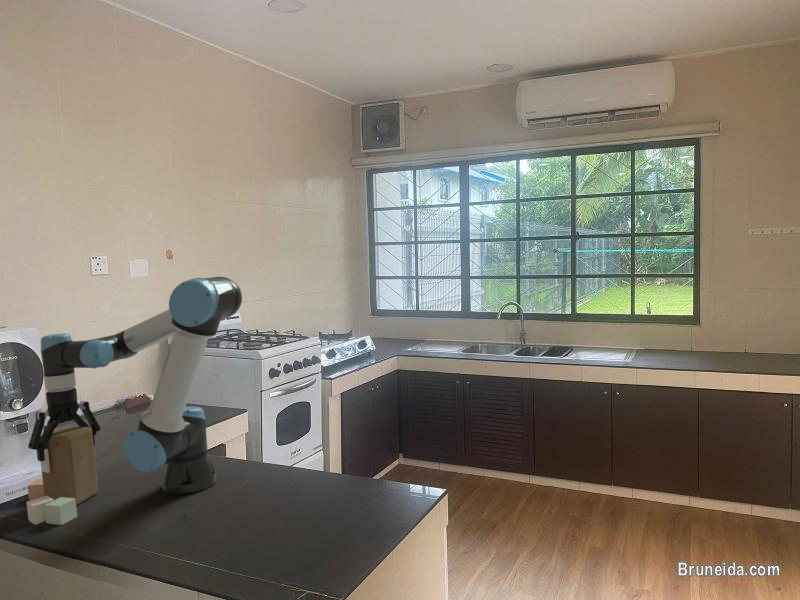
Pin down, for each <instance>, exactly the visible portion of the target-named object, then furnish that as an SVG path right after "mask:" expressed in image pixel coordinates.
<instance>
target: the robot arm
mask: <svg viewBox="0 0 800 600" xmlns="http://www.w3.org/2000/svg"><path fill="white" fill-rule="evenodd" d="M242 302H243V294H242V291H241V288H240V286H239V285H238V284H237V282H235V281H234V280H232V279H230V278H228V277H225V276H212V277H197V278H196V277H195V278H191V279H188V280H185V281H182V282H180V283H179V284H177V286H176V287H175V288H174V289H173V290H172V292H171V294H170V296H169V301H168V309H166V310H164V311H163V312H160V313H158V314H156V315H154V316H151V317H150V318H149V317H148V319H145V320H143V321H142V322H139V323H137V324H135V325H132V326H130V327H129V328H126V329H124V330H122V331H120V332H117V333H116V334H112V335H107V336H103V337H102V336H101V337H99V338H94V339H93V338H92V339H88V340H86V339H85V340H73V338H72V336H71V334H69V333H63V332H62V333H53V334H47V335H43V336H42V337H41V338H40V354H41V360H42V368H43V379H44V380H43V381H44V387H45V390H46V393H45V398H46V399H45V400H46V405H47V409H46V411H41V412H40V411H37V412H35V423H34V425H33V429H32V433H31V434H30V435H31V436H30V440H29V443H28V446H27V448H28V449H29V450H35V451H36V455H37V456H36V457H37V461H38V462H40V466H41V465H42V469H41V473H42V472H46V473H49V472H50V466H49V456H48V449H46V448H45V446H46V444H47V442H48V441H49V439H50V437H51V435H52V433H53V431H55V430H56V428H57V427H58V426H59V424H63V423H65V422H71V421H73V422H74V423H75V425H77V427H90V428H91V429H92V435H93V445H94V446H95V444H96V441H95V439H96V438H95V436H96V435H97V432H100V431H101V427H100V426H101V425H100V424H99V423H98V421H97V419H96V417H95V416H94V414H93V412H92V410H91V409H90V402H89V401H85V400H84V401H83V400H82V401H80V402H78V393H77V388H76V386H77V384H76V374H75V373H76V372H75V369H77V368H78V369H97V368H105V367H107V366H108V365H110V363H112V362H115V361H119V360H123V359H125V360H126V359H129V358H132V357H133V356H136V355H137V354H138V353H139V352H141V351H143V350H145V349H148V348H151V347H153V346H154V345H156V344H159V343H161V342H164V341H166V340H168V339H170V338H171V342H170V345H169V348H168V350H167V353H166V357H165V360H164V363H163V365H162V369H161V373H160V376H159V379H158V382H157V385H156V389H155V391H154V394H153V398H152V400H151V403H150V407H149V409H148V410H146V411H143V413H142V414H141V415H140V419H139V421H138V423H137V428H136V429H135V430H133V431H131V432H130V433H128V435H127V436H126V437H125V439H124V441H123V453H124V456H125V458H127V461H128V463H129V464H130V465H131V466H132V467H133V468H135V469H136V470H138V471H140V472H144V473H145V472H146V473H147V472H148V473H149V472H153V471H156V470H159V469H161V468H163V467H165V468H164V472H163V475H162V480H161V489H162V491H163V492H164V493H165V494H168V495H169V494H170V495H185V494H192V493H196V492H201V491H203V490H205V489H208V488H210V487H211V486H213V485H214V484H215V483H216V482H217V472H216V470H215V468H214V466H213V464H212V461H211V458H210V456H209V453H208V452H209V451H208V442H207V441H208V440H207V427H206V420H207V419H206V417H205V410H204V409H203V408H202V407H200V406H187V403H188V401H189V398H190V394H191V392H192V388H193V385H194V382H195V380H196V377H197V374H198V370H199V367H200V364H201V361H202V358H203V357H204V356H203V355H204V352H205V349H206V346H207V343H208V341H209V339H211V338H213V337H214V336H216V335H217V332H218V329H219V326H220V323H221V320H225V319H228V318H230V317H232V316H234V315H235V314H236V313H237V312H238V311H239V310H240V308H241V305H242ZM78 410H81V413H82V414H83V416H84V418H85V419H86V421H87V422H85V421H84V419H83V418H81V417H82V416H80V415H79V414H78V413H77V412H78ZM48 417H49V419H48V420H47V423H46V419H47V418H48ZM45 423H46V424H47V425H46V426H45ZM44 426H45V427H44Z"/></svg>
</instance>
